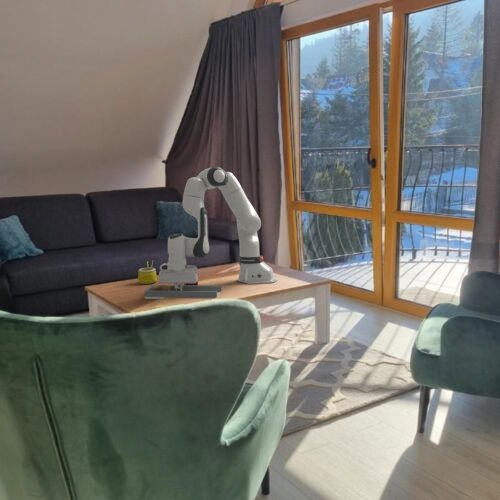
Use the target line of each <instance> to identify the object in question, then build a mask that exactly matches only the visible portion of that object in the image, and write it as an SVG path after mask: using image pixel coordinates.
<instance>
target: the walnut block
mask: <svg viewBox="0 0 500 500" xmlns="http://www.w3.org/2000/svg"><path fill="white" fill-rule="evenodd" d="M154 285H155V286H154V287H153V288H152V291H171V288H170V285H171V284H154Z"/></svg>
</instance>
